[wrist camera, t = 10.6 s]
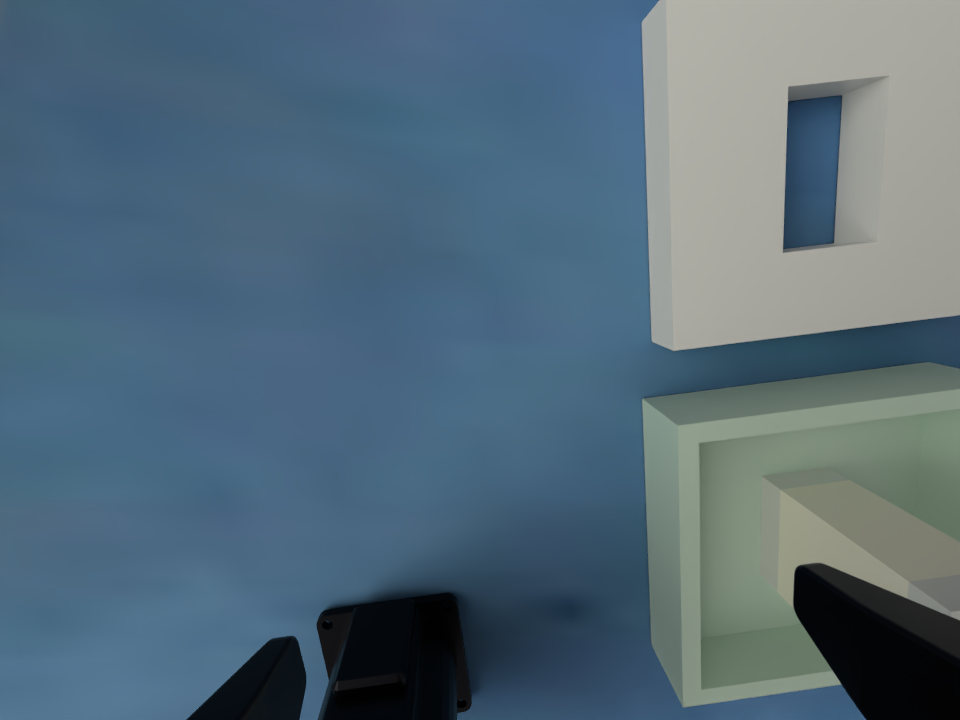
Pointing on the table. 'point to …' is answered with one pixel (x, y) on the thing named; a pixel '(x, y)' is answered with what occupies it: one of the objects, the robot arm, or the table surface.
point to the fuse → (854, 539)
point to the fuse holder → (762, 164)
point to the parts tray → (737, 509)
